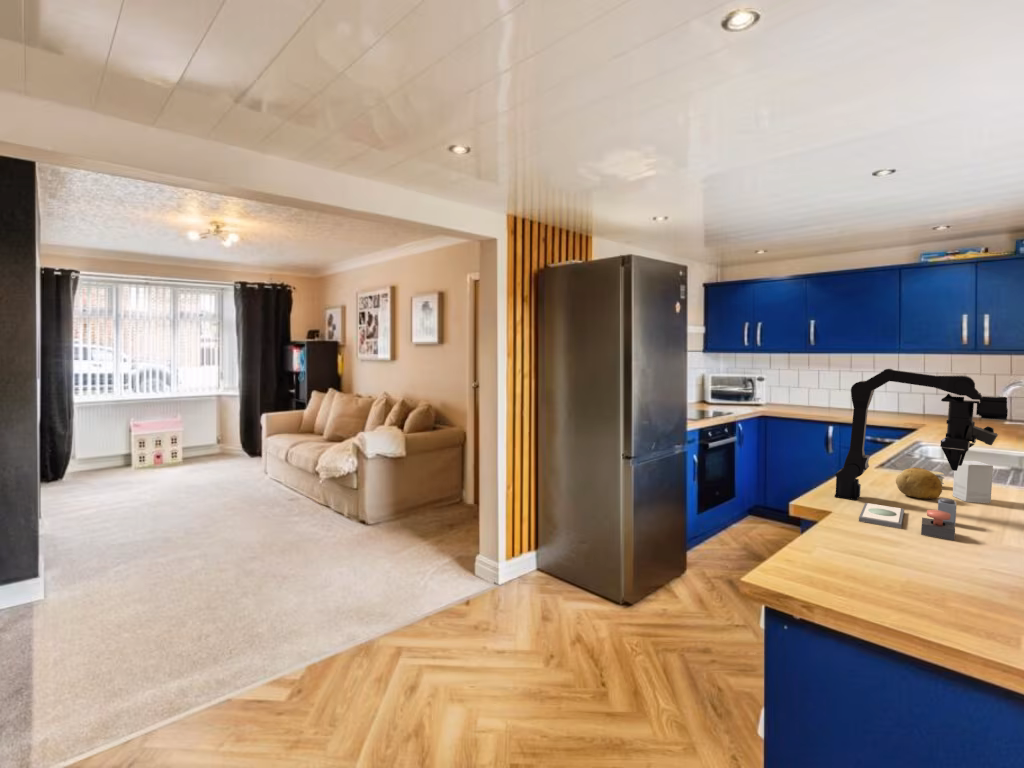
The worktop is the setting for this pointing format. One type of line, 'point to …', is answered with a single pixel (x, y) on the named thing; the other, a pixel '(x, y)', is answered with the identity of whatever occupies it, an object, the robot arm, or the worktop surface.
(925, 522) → the button housing
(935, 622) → the worktop surface
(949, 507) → the grey rectangular block
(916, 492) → the potato
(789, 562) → the worktop surface
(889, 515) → the drawing board
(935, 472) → the stacked layers on plate
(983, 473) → the supplement box
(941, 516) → the button
